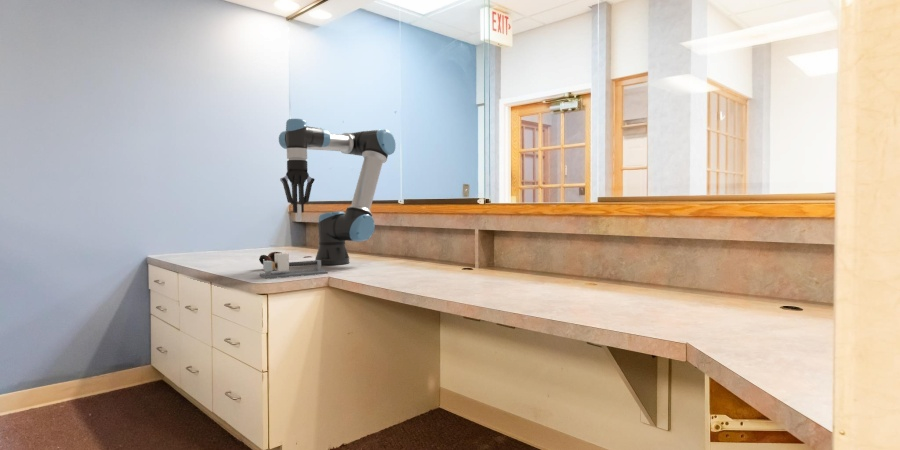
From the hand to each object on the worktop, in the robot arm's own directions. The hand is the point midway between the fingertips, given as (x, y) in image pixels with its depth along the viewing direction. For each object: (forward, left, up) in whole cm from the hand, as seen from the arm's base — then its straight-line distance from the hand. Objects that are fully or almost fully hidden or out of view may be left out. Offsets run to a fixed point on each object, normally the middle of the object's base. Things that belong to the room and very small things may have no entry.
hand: (298, 221), depth 197 cm
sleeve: (+7, +1, -18) cm, 20 cm away
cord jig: (+2, +1, -20) cm, 20 cm away
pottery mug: (+4, -21, -21) cm, 30 cm away
